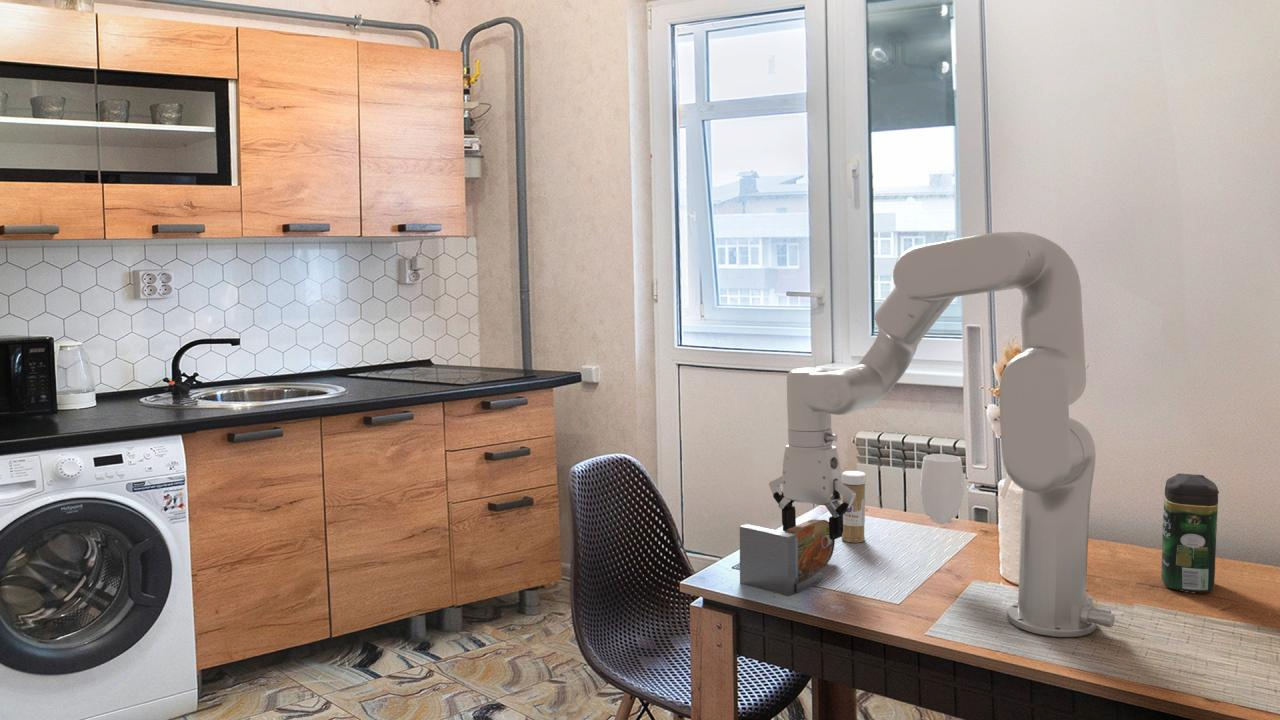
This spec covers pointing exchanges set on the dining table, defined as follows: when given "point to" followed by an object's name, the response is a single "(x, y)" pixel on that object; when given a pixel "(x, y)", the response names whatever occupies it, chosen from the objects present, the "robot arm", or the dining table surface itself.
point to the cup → (941, 486)
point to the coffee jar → (1189, 533)
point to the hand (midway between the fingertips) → (812, 533)
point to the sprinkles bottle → (854, 507)
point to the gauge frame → (771, 561)
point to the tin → (812, 545)
